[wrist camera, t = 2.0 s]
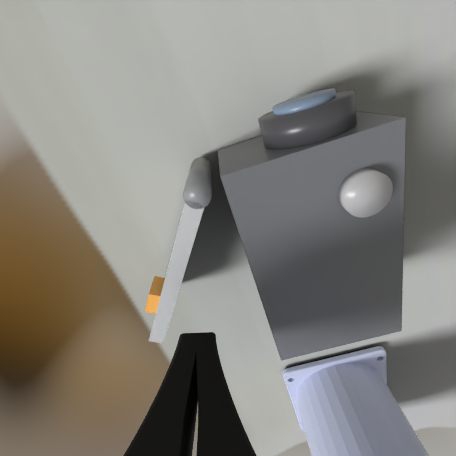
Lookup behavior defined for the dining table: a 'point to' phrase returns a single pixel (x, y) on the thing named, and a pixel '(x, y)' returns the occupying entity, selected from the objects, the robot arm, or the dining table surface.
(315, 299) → the camera body
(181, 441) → the robot arm
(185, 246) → the side door
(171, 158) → the dining table surface
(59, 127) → the dining table surface
